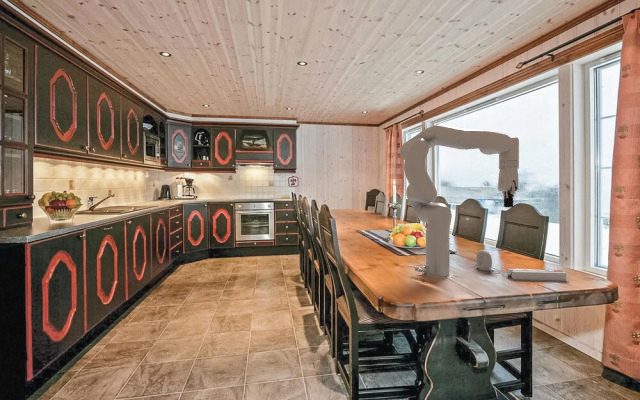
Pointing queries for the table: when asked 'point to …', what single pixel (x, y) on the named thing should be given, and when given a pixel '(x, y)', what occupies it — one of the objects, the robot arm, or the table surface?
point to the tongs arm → (509, 271)
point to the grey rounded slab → (484, 260)
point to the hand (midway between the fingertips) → (508, 207)
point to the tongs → (537, 276)
